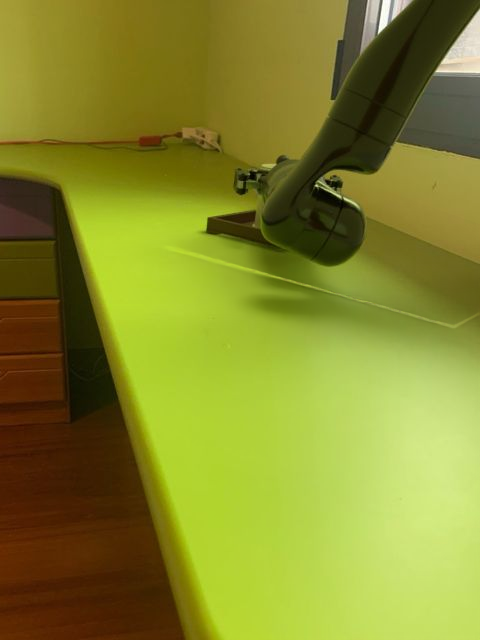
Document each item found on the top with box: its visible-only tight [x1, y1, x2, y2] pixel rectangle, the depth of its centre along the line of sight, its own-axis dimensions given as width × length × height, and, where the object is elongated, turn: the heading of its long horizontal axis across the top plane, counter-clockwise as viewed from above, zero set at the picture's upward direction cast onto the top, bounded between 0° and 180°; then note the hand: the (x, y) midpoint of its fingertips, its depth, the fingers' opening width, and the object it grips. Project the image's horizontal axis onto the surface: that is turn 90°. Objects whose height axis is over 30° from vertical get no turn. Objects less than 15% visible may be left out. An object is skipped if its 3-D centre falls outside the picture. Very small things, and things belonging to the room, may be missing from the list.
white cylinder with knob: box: [252, 154, 290, 229], centre depth 102 cm, size 7×7×11 cm
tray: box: [205, 209, 282, 249], centre depth 104 cm, size 16×14×2 cm
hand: (282, 176), depth 99 cm, fingers open, 8 cm apart
